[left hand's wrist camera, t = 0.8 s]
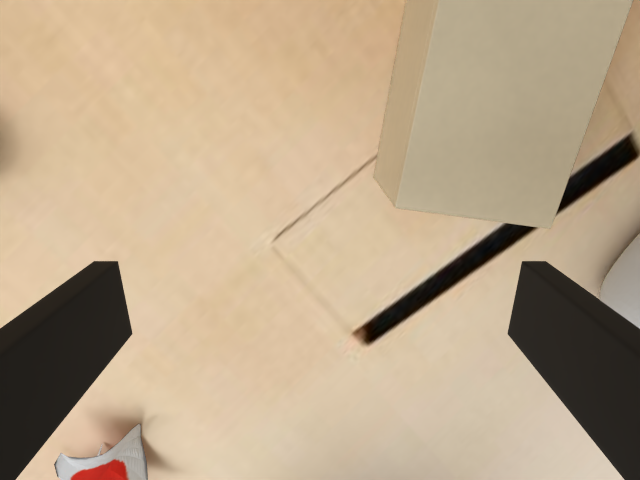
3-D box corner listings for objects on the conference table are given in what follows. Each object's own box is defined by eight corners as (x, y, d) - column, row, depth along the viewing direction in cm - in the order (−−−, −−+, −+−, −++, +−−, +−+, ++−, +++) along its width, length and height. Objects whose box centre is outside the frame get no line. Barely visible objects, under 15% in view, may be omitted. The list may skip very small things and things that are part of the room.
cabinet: (415, -50, 29) (466, -133, 19) (548, -28, 30) (668, -97, 20) (373, 177, 35) (394, 208, 25) (484, 193, 36) (551, 229, 26)
